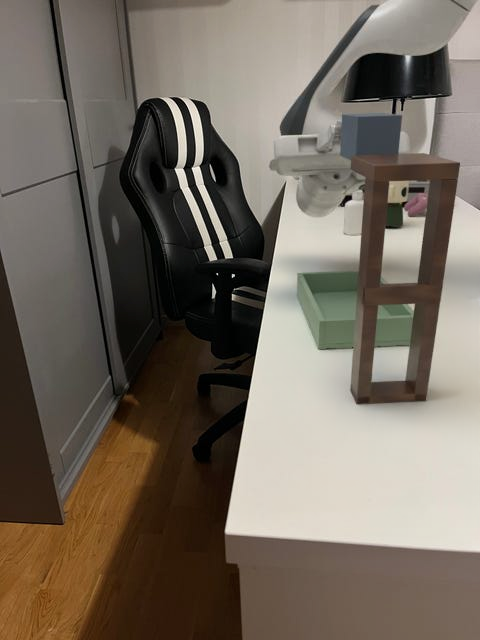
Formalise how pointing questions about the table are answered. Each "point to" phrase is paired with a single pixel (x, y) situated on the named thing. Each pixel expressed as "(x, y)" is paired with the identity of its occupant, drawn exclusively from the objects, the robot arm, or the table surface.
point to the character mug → (396, 202)
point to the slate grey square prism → (369, 134)
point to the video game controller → (417, 204)
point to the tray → (347, 311)
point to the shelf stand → (419, 293)
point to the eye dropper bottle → (354, 214)
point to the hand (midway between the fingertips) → (351, 128)
